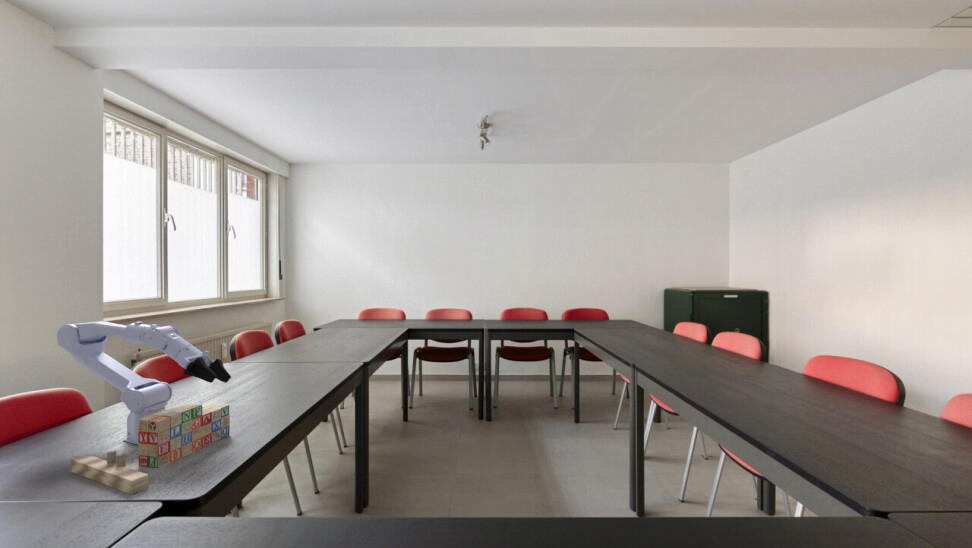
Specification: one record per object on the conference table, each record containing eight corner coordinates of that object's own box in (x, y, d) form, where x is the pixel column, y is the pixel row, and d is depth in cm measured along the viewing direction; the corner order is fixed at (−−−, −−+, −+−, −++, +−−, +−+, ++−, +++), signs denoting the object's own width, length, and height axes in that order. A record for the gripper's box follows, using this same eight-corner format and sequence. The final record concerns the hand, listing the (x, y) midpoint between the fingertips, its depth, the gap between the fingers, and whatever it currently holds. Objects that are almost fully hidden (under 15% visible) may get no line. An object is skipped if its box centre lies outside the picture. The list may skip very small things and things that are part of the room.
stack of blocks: (212, 433, 119) (213, 393, 119) (230, 435, 118) (230, 394, 118) (137, 466, 98) (138, 418, 98) (157, 469, 97) (157, 420, 97)
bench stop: (71, 471, 96) (71, 449, 96) (91, 464, 99) (91, 443, 99) (131, 494, 86) (132, 469, 86) (152, 486, 89) (152, 462, 89)
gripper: (179, 339, 108) (217, 367, 107) (209, 344, 122) (243, 368, 121) (159, 361, 106) (198, 389, 105) (192, 363, 120) (227, 388, 119)
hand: (221, 379), depth 113 cm, fingers open, 7 cm apart
